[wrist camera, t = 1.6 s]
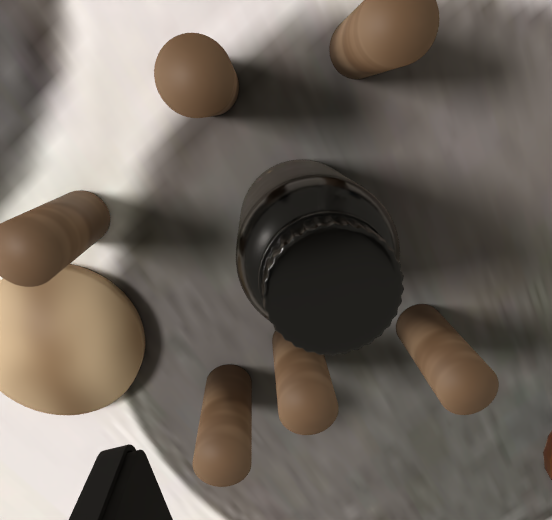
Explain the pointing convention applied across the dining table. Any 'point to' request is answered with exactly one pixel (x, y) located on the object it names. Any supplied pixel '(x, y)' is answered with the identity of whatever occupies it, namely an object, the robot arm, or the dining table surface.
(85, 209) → the walnut dowels
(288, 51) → the dining table surface
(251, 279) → the supplement bottle
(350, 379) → the dining table surface
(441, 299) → the dining table surface
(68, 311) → the cork coaster
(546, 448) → the food container
